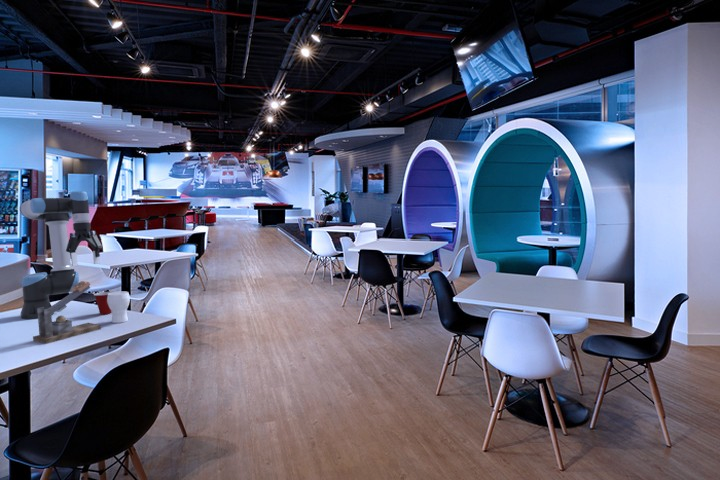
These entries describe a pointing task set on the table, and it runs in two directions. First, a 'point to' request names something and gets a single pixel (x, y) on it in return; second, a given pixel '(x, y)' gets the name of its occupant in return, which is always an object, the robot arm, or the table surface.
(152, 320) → the table surface
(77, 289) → the lever
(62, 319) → the walnut
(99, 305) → the plastic cup
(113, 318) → the cup
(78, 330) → the press base
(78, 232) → the robot arm
